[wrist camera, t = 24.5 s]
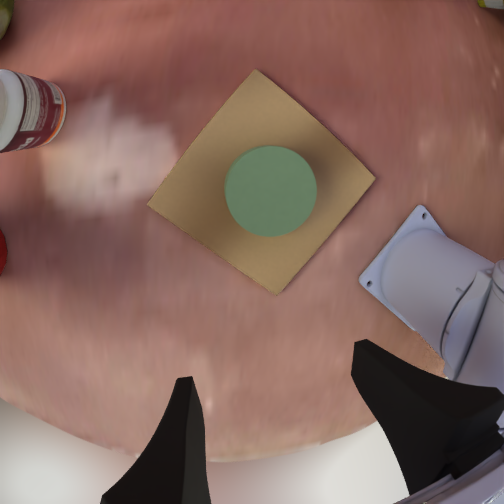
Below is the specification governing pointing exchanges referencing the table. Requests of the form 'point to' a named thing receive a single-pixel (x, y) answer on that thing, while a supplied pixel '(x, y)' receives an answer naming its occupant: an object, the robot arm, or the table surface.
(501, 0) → the alarm clock
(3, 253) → the plastic cup
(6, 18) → the fruit
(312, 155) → the plate
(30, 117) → the pill bottle
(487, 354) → the robot arm
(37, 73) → the table surface
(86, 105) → the table surface
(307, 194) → the jar lid
